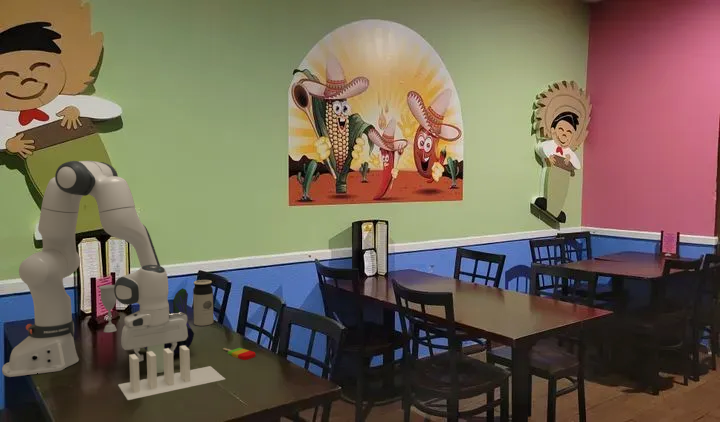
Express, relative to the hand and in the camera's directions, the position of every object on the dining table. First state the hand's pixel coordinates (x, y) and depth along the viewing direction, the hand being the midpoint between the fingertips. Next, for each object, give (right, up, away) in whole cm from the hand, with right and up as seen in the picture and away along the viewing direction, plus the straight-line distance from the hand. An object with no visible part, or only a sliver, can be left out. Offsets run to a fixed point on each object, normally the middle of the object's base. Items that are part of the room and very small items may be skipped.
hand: (155, 358), depth 187 cm
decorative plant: (-5, -4, +23) cm, 24 cm away
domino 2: (0, -5, 0) cm, 5 cm away
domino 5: (+11, -5, -5) cm, 13 cm away
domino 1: (-1, -6, -14) cm, 15 cm away
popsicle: (+22, -4, +20) cm, 30 cm away
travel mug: (0, -1, +59) cm, 59 cm away
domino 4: (+7, -5, -8) cm, 12 cm away
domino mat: (+8, -6, -8) cm, 12 cm away
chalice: (-36, -1, +49) cm, 60 cm away
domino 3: (+3, -6, -11) cm, 13 cm away
